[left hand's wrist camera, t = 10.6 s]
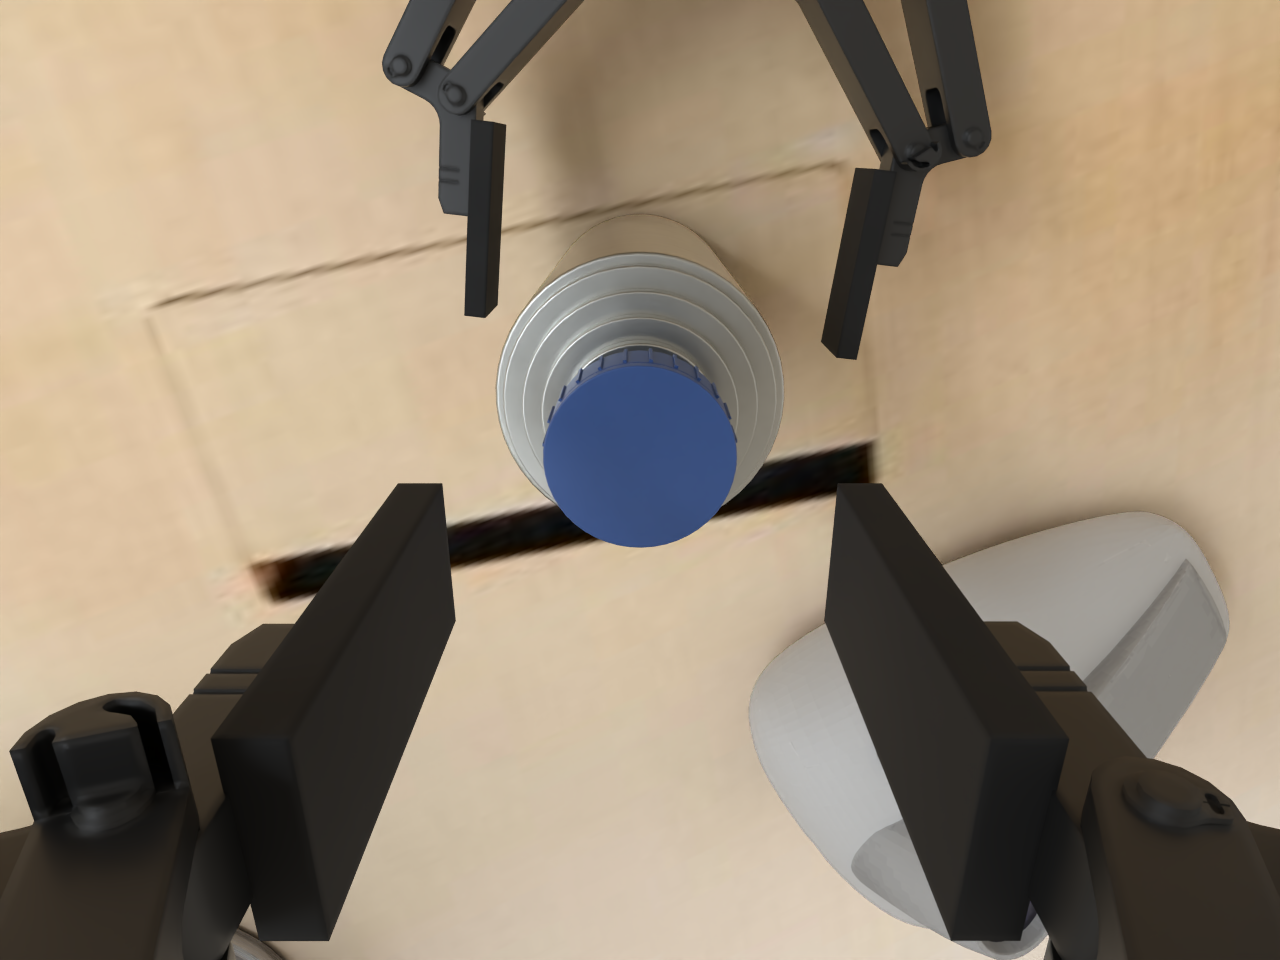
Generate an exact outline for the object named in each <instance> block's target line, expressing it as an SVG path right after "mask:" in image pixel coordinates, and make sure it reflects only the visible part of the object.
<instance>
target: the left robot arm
mask: <svg viewBox="0 0 1280 960" xmlns="http://www.w3.org/2000/svg"><path fill="white" fill-rule="evenodd" d="M455 621H456V620H455V609H454V599H453V589H452V579H451V568H450V558H449V548H448V538H447V527H446V517H445V507H444V497H443V486H442V483H398V484H397V486H396V487H395V488H394V490H393V491H392V492H391V494H390V495H389V497H388V498H387V499H386V501H385V502H384V503H383V505H382V506H381V507H380V509H379V510H378V511H377V513H376V514H375V516H374V517H373V518H372V520H371V521H370V522H369V524H368V525H367V526H366V528H365V529H364V531H363V532H362V533H361V535H360V536H359V537H358V539H357V540H356V541H355V543H354V544H353V545H352V547H351V548H350V550H349V551H348V552H347V554H346V555H345V556H344V558H343V559H342V560H341V562H340V563H339V564H338V566H337V567H336V569H335V570H334V571H333V573H332V574H331V575H330V577H329V578H328V579H327V581H326V582H325V584H324V585H323V586H322V588H321V589H320V590H319V592H318V593H317V594H316V596H315V597H314V598H313V600H312V601H311V603H310V604H309V605H308V607H307V608H306V609H305V611H304V612H303V613H302V615H301V616H300V618H299V619H298V620H297V622H296V623H295V624H262V625H261V626H259V627H258V628H256V629H254V630H253V631H251V632H250V633H248V634H247V635H245V636H244V637H242V638H240V639H239V640H237V641H236V642H234V643H233V644H231V645H230V646H229V648H228V649H227V650H226V651H225V652H224V654H223V655H222V656H221V657H220V658H219V660H218V661H217V662H216V663H215V664H214V666H213V667H212V668H211V672H210V674H206V675H205V676H204V678H203V679H202V680H201V681H200V682H199V684H198V685H197V686H196V687H195V688H194V693H193V694H189V695H188V697H187V698H186V699H185V700H184V701H183V703H182V704H181V705H180V706H179V707H178V709H177V710H176V711H175V712H174V713H173V714H172V710H171V707H170V705H169V704H168V703H167V702H165V701H164V700H163V699H162V698H160V697H159V696H158V695H152V694H146V693H141V692H127V693H115V694H107V695H104V696H100V697H96V698H93V699H89V700H85V701H82V702H78V703H76V704H74V705H72V706H69V707H67V708H65V709H63V710H61V711H58V712H56V713H54V714H52V715H50V716H48V717H47V718H45V719H44V720H42V721H41V722H39V723H38V724H36V725H35V726H34V727H32V728H31V729H29V730H28V731H26V732H25V733H24V734H23V735H22V736H21V738H20V739H19V740H18V741H17V742H16V744H15V745H14V746H13V747H12V748H11V750H10V751H9V752H10V754H11V757H12V760H13V763H14V766H15V768H16V771H17V774H18V777H19V780H20V782H21V785H22V788H23V791H24V793H25V796H26V799H27V802H28V805H29V807H30V810H31V813H32V816H33V819H34V823H33V825H31V826H28V827H24V828H20V829H16V830H11V831H7V832H2V833H0V960H283V959H282V958H281V957H280V956H279V955H278V954H277V953H275V952H274V951H273V950H272V949H271V948H269V947H268V946H267V945H265V944H264V943H262V942H261V941H329V940H330V937H331V934H332V932H333V929H334V927H335V924H336V922H337V919H338V917H339V914H340V912H341V909H342V907H343V904H344V902H345V899H346V897H347V894H348V891H349V889H350V886H351V884H352V881H353V879H354V876H355V874H356V871H357V869H358V866H359V864H360V861H361V859H362V856H363V854H364V851H365V849H366V846H367V843H368V841H369V838H370V836H371V833H372V831H373V828H374V826H375V823H376V821H377V818H378V816H379V813H380V811H381V808H382V806H383V803H384V800H385V798H386V795H387V793H388V790H389V788H390V785H391V783H392V780H393V778H394V775H395V773H396V770H397V768H398V765H399V763H400V760H401V757H402V755H403V752H404V750H405V747H406V745H407V742H408V740H409V737H410V735H411V732H412V730H413V727H414V725H415V722H416V720H417V717H418V715H419V712H420V709H421V707H422V704H423V702H424V699H425V697H426V694H427V692H428V689H429V687H430V684H431V682H432V679H433V677H434V674H435V672H436V669H437V666H438V664H439V661H440V659H441V656H442V654H443V651H444V649H445V646H446V644H447V641H448V639H449V636H450V634H451V631H452V629H453V626H454V624H455ZM824 621H825V624H826V626H827V629H828V631H829V634H830V636H831V639H832V641H833V644H834V646H835V649H836V651H837V654H838V656H839V659H840V661H841V664H842V666H843V669H844V672H845V674H846V677H847V679H848V682H849V684H850V687H851V689H852V692H853V694H854V697H855V699H856V702H857V704H858V707H859V709H860V712H861V715H862V717H863V720H864V722H865V725H866V727H867V730H868V732H869V735H870V737H871V740H872V742H873V745H874V747H875V750H876V752H877V755H878V757H879V760H880V763H881V765H882V768H883V770H884V773H885V775H886V778H887V780H888V783H889V785H890V788H891V790H892V793H893V795H894V798H895V800H896V803H897V806H898V808H899V811H900V813H901V816H902V818H903V821H904V823H905V826H906V828H907V831H908V833H909V836H910V838H911V841H912V843H913V846H914V849H915V851H916V854H917V856H918V859H919V861H920V864H921V866H922V869H923V871H924V874H925V876H926V879H927V881H928V884H929V886H930V889H931V891H932V894H933V897H934V899H935V902H936V904H937V907H938V909H939V912H940V914H941V917H942V919H943V922H944V924H945V927H946V929H947V932H948V934H949V937H950V940H951V941H1021V937H1022V933H1023V928H1024V924H1025V920H1026V916H1027V912H1028V908H1029V904H1030V901H1031V903H1032V905H1033V907H1034V909H1035V911H1036V912H1037V914H1038V916H1039V918H1040V920H1041V922H1042V924H1043V926H1044V928H1045V930H1046V932H1047V933H1048V935H1049V941H1048V945H1047V948H1046V952H1045V956H1044V960H1280V829H1276V828H1271V827H1267V826H1262V825H1258V824H1255V823H1251V822H1248V821H1246V819H1245V818H1244V817H1243V815H1242V814H1241V812H1240V811H1239V810H1238V808H1237V807H1236V805H1235V804H1234V802H1233V801H1232V800H1231V799H1230V798H1228V797H1227V796H1226V795H1225V794H1223V793H1222V792H1221V791H1220V790H1218V789H1217V788H1216V787H1215V786H1213V785H1212V784H1211V783H1210V782H1208V781H1206V780H1204V779H1202V778H1200V777H1198V776H1197V775H1195V774H1193V773H1191V772H1189V771H1187V770H1185V769H1183V768H1181V767H1178V766H1174V765H1171V764H1168V763H1165V762H1161V761H1158V760H1155V759H1151V758H1147V757H1146V756H1145V755H1144V754H1143V752H1142V751H1141V750H1140V749H1139V748H1138V747H1137V745H1136V744H1135V743H1134V742H1133V741H1132V739H1131V738H1130V737H1129V736H1128V735H1127V733H1126V732H1125V731H1124V730H1123V729H1122V727H1121V726H1120V725H1119V724H1118V723H1117V722H1116V720H1115V719H1114V718H1113V717H1112V716H1111V714H1110V713H1109V712H1108V711H1107V710H1106V708H1105V707H1104V706H1103V705H1102V704H1101V703H1100V701H1099V700H1098V699H1097V698H1096V697H1095V695H1094V694H1093V693H1092V692H1088V691H1087V686H1086V685H1085V683H1084V682H1083V681H1082V680H1081V679H1080V678H1079V676H1078V675H1077V674H1076V673H1075V672H1074V671H1070V666H1069V664H1068V663H1067V662H1066V661H1065V660H1064V658H1063V657H1062V656H1061V655H1060V654H1059V653H1058V651H1057V650H1056V649H1055V648H1054V647H1053V645H1052V644H1051V643H1050V642H1049V641H1047V640H1046V639H1044V638H1043V637H1041V636H1039V635H1038V634H1036V633H1035V632H1033V631H1032V630H1030V629H1029V628H1027V627H1025V626H1024V625H1022V624H1021V623H1019V622H1018V621H983V620H982V619H981V618H980V616H979V615H978V613H977V612H976V611H975V609H974V608H973V607H972V605H971V604H970V603H969V601H968V600H967V598H966V597H965V596H964V594H963V593H962V592H961V590H960V589H959V588H958V586H957V585H956V584H955V582H954V581H953V579H952V578H951V577H950V575H949V574H948V573H947V571H946V570H945V569H944V567H943V566H942V564H941V563H940V562H939V560H938V559H937V558H936V556H935V555H934V554H933V552H932V551H931V550H930V548H929V547H928V545H927V544H926V543H925V541H924V540H923V539H922V537H921V536H920V535H919V533H918V532H917V531H916V529H915V528H914V526H913V525H912V524H911V522H910V521H909V520H908V518H907V517H906V516H905V514H904V513H903V511H902V510H901V509H900V507H899V506H898V505H897V503H896V502H895V501H894V499H893V498H892V497H891V495H890V494H889V492H888V491H887V490H886V488H885V487H884V486H883V484H882V483H838V486H837V497H836V507H835V517H834V527H833V538H832V548H831V558H830V568H829V579H828V589H827V599H826V609H825V619H824ZM250 904H251V908H252V912H253V916H254V920H255V924H256V928H257V933H258V937H259V940H258V939H256V938H255V937H253V936H251V935H249V934H247V933H246V932H244V931H242V930H240V929H237V928H238V926H239V924H240V922H241V920H242V919H243V917H244V915H245V913H246V911H247V909H248V907H249V905H250Z"/></svg>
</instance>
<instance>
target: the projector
mask: <svg viewBox="0 0 1280 960" xmlns="http://www.w3.org/2000/svg"><path fill="white" fill-rule="evenodd" d="M942 566H943V567H944V569H945V570H946V571H947V573H948V574H949V575H950V577H951V578H952V579H953V581H954V582H955V584H956V585H957V586H958V588H959V589H960V590H961V592H962V593H963V594H964V596H965V597H966V598H967V600H968V601H969V603H970V604H971V605H972V607H973V608H974V609H975V611H976V612H977V613H978V615H979V616H980V618H981V619H982V620H983V621H1018V622H1019V623H1021V624H1022V625H1024V626H1025V627H1027V628H1029V629H1030V630H1032V631H1033V632H1035V633H1036V634H1038V635H1039V636H1041V637H1043V638H1044V639H1046V640H1047V641H1049V642H1050V643H1051V644H1052V645H1053V647H1054V648H1055V649H1056V650H1057V651H1058V653H1059V654H1060V655H1061V656H1062V657H1063V658H1064V660H1065V661H1066V662H1067V663H1068V664H1069V666H1070V671H1074V672H1075V673H1076V674H1077V675H1078V676H1079V678H1080V679H1081V680H1082V681H1083V682H1084V683H1085V685H1086V686H1087V691H1088V692H1092V693H1093V694H1094V695H1095V697H1096V698H1097V699H1098V700H1099V701H1100V703H1101V704H1102V705H1103V706H1104V707H1105V708H1106V710H1107V711H1108V712H1109V713H1110V714H1111V716H1112V717H1113V718H1114V719H1115V720H1116V722H1117V723H1118V724H1119V725H1120V726H1121V727H1122V729H1123V730H1124V731H1125V732H1126V733H1127V735H1128V736H1129V737H1130V738H1131V739H1132V741H1133V742H1134V743H1135V744H1136V745H1137V747H1138V748H1139V749H1140V750H1141V751H1142V752H1143V754H1144V755H1145V756H1146V757H1147V758H1151V759H1154V757H1155V756H1156V754H1157V753H1158V752H1159V750H1160V749H1161V748H1162V746H1163V745H1164V743H1165V742H1166V740H1167V739H1168V737H1169V736H1170V734H1171V733H1172V731H1173V730H1174V728H1175V727H1176V725H1177V724H1178V722H1179V721H1180V719H1181V718H1182V716H1183V715H1184V713H1185V712H1186V711H1187V709H1188V708H1189V706H1190V705H1191V703H1192V701H1193V700H1194V698H1195V696H1196V695H1197V693H1198V692H1199V690H1200V688H1201V687H1202V685H1203V683H1204V682H1205V680H1206V678H1207V677H1208V675H1209V673H1210V672H1211V670H1212V668H1213V667H1214V665H1215V663H1216V661H1217V659H1218V657H1219V655H1220V653H1221V652H1222V650H1223V648H1224V645H1225V643H1226V639H1227V637H1228V633H1229V614H1228V610H1227V605H1226V602H1225V599H1224V596H1223V593H1222V591H1221V589H1220V586H1219V584H1218V582H1217V580H1216V577H1215V575H1214V573H1213V571H1212V569H1211V567H1210V565H1209V563H1208V561H1207V560H1206V558H1205V556H1204V554H1203V553H1202V551H1201V549H1200V548H1199V546H1198V545H1197V543H1196V542H1195V540H1194V539H1193V538H1192V537H1191V536H1190V534H1189V533H1188V532H1187V531H1186V530H1185V529H1184V528H1182V527H1181V526H1180V525H1178V524H1177V523H1175V522H1173V521H1172V520H1170V519H1168V518H1165V517H1163V516H1160V515H1157V514H1154V513H1149V512H1142V511H1138V512H1124V513H1117V514H1111V515H1105V516H1100V517H1096V518H1091V519H1086V520H1082V521H1077V522H1073V523H1070V524H1066V525H1062V526H1058V527H1055V528H1051V529H1047V530H1043V531H1040V532H1036V533H1033V534H1030V535H1027V536H1023V537H1020V538H1017V539H1014V540H1010V541H1007V542H1004V543H1001V544H998V545H995V546H992V547H990V548H987V549H984V550H981V551H978V552H975V553H973V554H970V555H967V556H965V557H962V558H960V559H957V560H954V561H952V562H949V563H947V564H945V565H942ZM749 723H750V729H751V735H752V739H753V742H754V746H755V750H756V752H757V755H758V758H759V760H760V763H761V765H762V767H763V769H764V771H765V773H766V775H767V777H768V779H769V781H770V783H771V784H772V786H773V788H774V789H775V791H776V792H777V794H778V796H779V797H780V799H781V800H782V802H783V803H784V805H785V806H786V808H787V809H788V811H789V812H790V814H791V815H792V817H793V818H794V819H795V821H796V822H797V824H798V825H799V826H800V828H801V829H802V830H803V832H804V833H805V834H806V836H807V837H808V838H809V839H810V840H811V841H812V842H813V843H814V845H815V846H816V847H817V848H818V850H819V851H820V852H821V854H822V855H823V857H824V858H825V859H826V860H827V861H828V863H829V864H830V865H831V866H832V867H833V868H834V869H835V870H836V871H837V872H838V873H839V874H840V876H841V877H843V878H844V879H845V880H846V881H847V882H848V883H849V884H850V885H851V886H852V887H853V888H854V889H855V890H856V891H858V892H859V893H860V894H861V895H862V896H863V897H865V898H866V899H867V900H869V901H870V902H871V903H873V904H874V905H875V906H877V907H878V908H879V909H881V910H882V911H884V912H886V913H887V914H889V915H891V916H893V917H894V918H896V919H898V920H901V921H903V922H905V923H908V924H911V925H914V926H919V927H923V928H928V929H931V930H933V931H934V932H936V933H938V934H940V935H942V936H943V937H945V938H947V939H949V940H950V937H949V934H948V932H947V929H946V927H945V924H944V922H943V919H942V917H941V914H940V912H939V909H938V907H937V904H936V902H935V899H934V897H933V894H932V891H931V889H930V886H929V884H928V881H927V879H926V876H925V874H924V871H923V869H922V866H921V864H920V861H919V859H918V856H917V854H916V851H915V849H914V846H913V843H912V841H911V838H910V836H909V833H908V831H907V828H906V826H905V823H904V821H903V818H902V816H901V813H900V811H899V808H898V806H897V803H896V800H895V798H894V795H893V793H892V790H891V788H890V785H889V783H888V780H887V778H886V775H885V773H884V770H883V768H882V765H881V763H880V760H879V757H878V755H877V752H876V750H875V747H874V745H873V742H872V740H871V737H870V735H869V732H868V730H867V727H866V725H865V722H864V720H863V717H862V715H861V712H860V709H859V707H858V704H857V702H856V699H855V697H854V694H853V692H852V689H851V687H850V684H849V682H848V679H847V677H846V674H845V672H844V669H843V666H842V664H841V661H840V659H839V656H838V654H837V651H836V649H835V646H834V644H833V641H832V639H831V636H830V634H829V631H828V629H827V626H826V624H825V623H824V624H823V625H821V626H819V627H818V628H816V629H814V630H813V631H811V632H810V633H808V634H806V635H805V636H803V637H802V638H800V639H799V640H798V641H796V642H795V643H793V644H792V645H790V646H789V647H788V648H786V649H785V650H784V651H783V652H781V653H780V654H779V655H778V656H777V657H775V658H774V659H773V660H772V661H771V662H770V663H769V665H768V666H767V667H766V668H765V669H764V671H763V672H762V673H761V675H760V676H759V678H758V679H757V681H756V683H755V685H754V688H753V690H752V693H751V696H750V703H749ZM1047 935H1048V933H1047V932H1046V930H1045V928H1044V926H1043V924H1042V922H1041V920H1040V918H1039V916H1038V914H1037V912H1036V911H1035V909H1034V907H1033V905H1032V903H1031V901H1030V904H1029V908H1028V912H1027V916H1026V920H1025V924H1024V928H1023V933H1022V937H1021V941H953V942H955V943H957V944H959V945H961V946H963V947H965V948H968V949H970V950H973V951H975V952H978V953H981V954H983V955H986V956H988V957H991V958H994V959H997V960H1011V959H1016V958H1019V957H1021V956H1024V955H1025V954H1027V953H1028V952H1030V951H1031V950H1033V949H1034V948H1035V947H1037V946H1038V945H1039V944H1040V943H1041V942H1042V941H1043V939H1044V938H1045V937H1046V936H1047Z"/></svg>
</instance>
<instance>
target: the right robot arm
mask: <svg viewBox="0 0 1280 960" xmlns="http://www.w3.org/2000/svg"><path fill="white" fill-rule="evenodd" d="M475 1H476V0H410V1H409V3H408V5H407V7H406V9H405V11H404V14H403V16H402V18H401V20H400V22H399V24H398V26H397V28H396V30H395V33H394V35H393V37H392V39H391V41H390V43H389V45H388V47H387V49H386V52H385V54H384V57H383V61H382V66H383V71H384V73H385V75H386V77H387V79H388V80H389V81H390V82H392V83H393V84H395V85H398V86H400V87H402V88H404V89H406V90H408V91H410V92H412V93H413V94H415V95H417V96H419V97H421V98H423V99H425V100H426V101H428V102H429V103H430V104H431V105H432V106H433V107H434V108H435V110H436V112H437V114H438V117H439V121H440V146H439V196H438V198H439V201H440V204H441V206H442V209H443V212H444V213H445V214H454V215H462V216H468V223H467V253H466V283H465V314H464V316H473V317H482V318H486V317H487V316H488V315H489V313H490V312H491V311H492V310H493V309H494V308H495V307H496V306H497V305H498V285H499V264H500V243H501V222H502V201H503V180H504V160H505V139H506V125H505V124H500V123H496V122H489V121H483V116H484V115H485V113H484V111H485V109H486V108H487V107H488V106H489V105H490V104H491V103H492V102H493V101H494V99H495V98H496V97H497V96H498V95H499V94H500V93H501V92H502V91H503V90H504V88H505V87H506V86H507V85H508V84H509V83H510V82H511V81H512V80H513V78H514V77H515V76H516V75H517V74H518V73H519V72H520V71H521V70H522V68H523V67H524V66H525V65H526V64H527V63H528V62H529V61H530V60H531V59H532V57H533V56H534V55H535V54H536V53H537V52H538V51H539V50H540V49H541V47H542V46H543V45H544V44H545V43H546V42H547V41H548V40H549V39H550V37H551V36H552V35H553V34H554V33H555V32H556V31H557V30H558V29H559V28H560V26H561V25H562V24H563V23H564V22H565V21H566V20H567V19H568V18H569V16H570V15H571V14H572V13H573V12H574V11H575V10H576V9H577V8H578V7H579V5H580V4H581V3H582V2H583V1H584V0H512V1H511V2H510V3H509V4H508V5H507V6H506V7H505V9H504V10H503V11H502V12H501V13H500V14H499V15H498V17H497V18H496V19H495V20H494V21H493V22H492V23H491V25H490V26H489V27H488V28H487V29H486V30H485V31H484V33H483V34H482V35H481V36H480V37H479V38H478V39H477V41H476V42H475V43H474V44H473V45H472V46H471V47H470V49H469V50H468V51H467V52H466V53H465V54H464V55H463V57H462V58H461V59H460V60H459V61H458V62H457V63H456V65H455V66H454V67H453V68H452V69H449V68H447V67H445V66H443V65H444V63H445V61H446V59H447V57H448V55H449V53H450V51H451V49H452V47H453V45H454V43H455V41H456V39H457V37H458V35H459V33H460V31H461V29H462V27H463V25H464V23H465V21H466V19H467V17H468V15H469V13H470V11H471V9H472V7H473V5H474V3H475ZM796 1H797V3H798V4H799V6H800V8H801V10H802V11H803V13H804V15H805V17H806V19H807V21H808V23H809V25H810V27H811V29H812V31H813V33H814V35H815V36H816V38H817V40H818V42H819V44H820V46H821V48H822V50H823V52H824V54H825V56H826V58H827V60H828V61H829V63H830V65H831V67H832V69H833V71H834V73H835V75H836V77H837V79H838V81H839V83H840V85H841V86H842V88H843V90H844V92H845V94H846V96H847V98H848V100H849V102H850V104H851V106H852V108H853V109H854V111H855V113H856V115H857V117H858V119H859V121H860V123H861V125H862V127H863V129H864V131H865V133H866V134H867V136H868V138H869V140H870V142H871V144H872V146H873V148H874V150H875V152H876V154H877V156H878V158H879V159H880V161H881V164H880V169H866V168H855V173H854V178H853V183H852V188H851V193H850V198H849V204H848V209H847V214H846V219H845V224H844V229H843V234H842V239H841V244H840V249H839V254H838V259H837V264H836V269H835V274H834V279H833V284H832V289H831V294H830V299H829V304H828V309H827V315H826V320H825V325H824V330H823V335H822V340H821V342H822V343H823V344H824V345H825V346H826V347H827V348H828V349H829V351H830V352H831V353H832V354H833V355H834V356H835V357H836V358H845V359H853V360H856V359H857V355H858V350H859V346H860V341H861V336H862V332H863V327H864V322H865V318H866V313H867V309H868V304H869V299H870V295H871V290H872V285H873V281H874V276H875V272H876V267H877V264H878V265H886V266H895V267H898V266H899V264H900V263H901V261H902V259H903V258H904V256H905V255H906V253H907V249H908V244H909V240H910V235H911V231H912V227H913V226H912V225H913V222H914V218H915V214H916V209H917V205H918V200H919V196H920V192H921V187H922V183H923V181H924V178H925V177H926V175H927V173H928V172H929V171H930V170H931V169H932V168H934V167H935V166H937V165H940V164H942V163H946V162H950V161H954V160H958V159H962V158H966V157H975V156H978V155H980V154H981V153H983V152H984V151H985V150H986V149H987V147H988V146H989V143H990V141H991V127H990V122H989V117H988V111H987V106H986V101H985V95H984V90H983V85H982V79H981V74H980V69H979V63H978V58H977V53H976V47H975V42H974V37H973V31H972V26H971V21H970V15H969V10H968V5H967V0H901V3H902V8H903V13H904V17H905V22H906V27H907V31H908V36H909V41H910V45H911V50H912V55H913V59H914V64H915V69H916V73H917V78H918V83H919V88H920V92H921V97H922V102H923V106H924V111H925V116H926V120H927V125H928V127H925V125H924V123H923V121H922V119H921V117H920V115H919V113H918V111H917V109H916V107H915V105H914V103H913V101H912V99H911V97H910V95H909V93H908V91H907V89H906V87H905V85H904V83H903V80H902V78H901V76H900V74H899V72H898V70H897V68H896V66H895V64H894V62H893V60H892V58H891V56H890V54H889V52H888V50H887V48H886V46H885V44H884V42H883V40H882V38H881V36H880V34H879V32H878V30H877V28H876V26H875V24H874V22H873V20H872V18H871V16H870V14H869V12H868V10H867V8H866V6H865V4H864V2H863V0H796Z"/></svg>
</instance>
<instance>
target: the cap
mask: <svg viewBox="0 0 1280 960" xmlns="http://www.w3.org/2000/svg"><path fill="white" fill-rule="evenodd" d="M730 419H732V418H731V415H730V412H729V409H728V406H727V404H726V402H725V403H723V401H722V399H721V397H720V395H719V394H718V391H717V388H716V385H715V383H714V382H713V383H710V381H709V380H708V379H707V378H706V377H705V376H704V375H703V374H702V373H700V372H699V369H698V367H697V366H696V365H695V367H693V366H691V365H690V364H688V363H686V362H685V361H683V360H680V359H678V358H677V355H675V354H673V356H671V355H667V354H664V353H660V352H654V351H652V349H651V348H649V351H642V350H636V351H627V349H624V352H621V353H616V354H612V355H610V356H607V357H603V355H602V356H600V358H599V360H598V361H596V362H594V363H592V364H590V365H589V366H587V367H586V368H585V369H582V368H580V369H579V371H578V374H577V375H576V376H575V377H574V378H573V379H572V380H571V381H570V383H569V384H568V385H567V386H565V385H564V386H563V387H562V390H561V393H560V396H559V399H558V401H557V404H556V406H552V409H551V412H550V415H549V418H548V421H547V423H549V426H548V429H547V431H546V434H545V437H544V440H543V443H542V446H543V447H544V448H543V465H544V472H545V477H546V480H547V484H548V487H549V489H550V491H551V493H552V496H553V497H554V499H555V501H556V502H557V504H558V506H559V507H560V508H561V510H562V511H563V512H564V513H565V515H566V516H567V517H568V518H569V519H570V520H571V521H572V522H573V523H574V524H576V525H577V526H578V527H580V528H581V529H582V530H584V531H585V532H587V533H589V534H590V535H592V536H594V537H596V538H598V539H601V540H603V541H605V542H609V543H612V544H616V545H620V546H627V547H654V546H659V545H664V544H668V543H671V542H674V541H677V540H680V539H682V538H684V537H686V536H688V535H690V534H691V533H693V532H695V531H696V530H698V529H699V528H700V527H702V526H703V525H704V524H705V523H707V522H708V521H709V520H710V519H711V518H712V517H713V516H714V515H715V514H716V512H717V511H718V510H719V508H720V507H721V506H722V504H723V503H724V501H725V499H726V497H727V496H728V494H729V491H730V489H731V486H732V484H733V481H734V476H735V472H736V466H737V446H736V443H737V438H736V435H735V432H734V429H733V426H732V425H731V423H730Z"/></svg>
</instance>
